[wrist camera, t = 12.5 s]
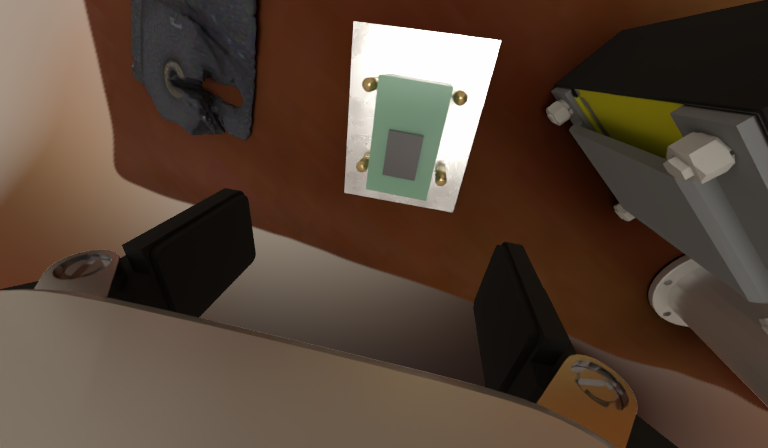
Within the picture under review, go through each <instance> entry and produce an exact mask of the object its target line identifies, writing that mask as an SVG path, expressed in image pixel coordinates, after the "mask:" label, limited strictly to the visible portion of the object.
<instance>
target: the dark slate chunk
mask: <svg viewBox="0 0 768 448" xmlns="http://www.w3.org/2000/svg"><path fill="white" fill-rule="evenodd" d="M131 5H132V20H131V28H132V35H133V37H132V53H133V55H132V58H133V65H132V69H133V76H134V77H135V78H136V79H137V80H138V81H139V82H141V83H142V84H143V85H144V86H145V87H146V88H147V90H148V93H149V95H150V96H151V97H152V101H153V103H154V104H155V106H156V108H157V109H158V112H159V114H160V115H161V116H162V117H163V118H165V119H166V120H168V121H172V122H174V123H176V124H178V125H181V126H182V127H183V128H184V129H185V130H186V131H187V132H190V134H191V135H202V134H215V133H216V134H224V130H227V132H228V133H229V134H230V135H232V136H233V135H234V136H236V137H237V138H242V139H243V140H246V139H247V138H248V137H249V136H250V134H251V133H250V129H251V122H252V118H251V112H252V104H253V96H254V89H255V83H254V79H255V77H256V75H255V65H256V62H255V54H256V52H255V38H256V29H257V26H256V18H255V14H256V11H257V5H256V0H132V1H131ZM206 77H211V78H212V80H213V81H215V82H218V83H222V84H225V85H230V86H235V87H237V89H238V90H239V92H240V94H241V95H242V97H243V101H244V103H243V104H242V106H241V107H235V106H233V105H232V104H228V103H226V102H225V101H224V100H223V99H222V98H220V97H218V96H216V97H213V95H212V94H210V93H209V92H208V91H205V90H204V89H202V87H201V85H200V84H202V81H205V79H206ZM222 127H224V128H222Z"/></svg>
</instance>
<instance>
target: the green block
mask: <svg viewBox="0 0 768 448" xmlns="http://www.w3.org/2000/svg"><path fill="white" fill-rule="evenodd" d="M453 88H454V87H453V86H452V85H451V84H450V83H446V82H440V81H434V80H428V79H422V78H416V77H410V76H404V75H398V74H392V73H390V74H379V78H378V87H377V95H376V104H375V113H374V122H373V130H372V139H371V148H370V156H369V165H368V174H367V182H366V189H368V190H373V191H378V192H383V193H388V194H393V195H398V196H403V197H408V198H413V199H418V200H423V201H426V199H427V195H428V191H429V187H430V183H431V179H432V175H433V170H434V166H435V162H436V158H437V154H438V150H439V146H440V141H441V137H442V133H443V129H444V125H445V121H446V117H447V112H448V108H449V104H450V100H451V96H452V92H453Z"/></svg>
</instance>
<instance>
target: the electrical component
mask: <svg viewBox="0 0 768 448" xmlns="http://www.w3.org/2000/svg"><path fill="white" fill-rule="evenodd" d="M555 86H556V88H554V89H553V90H552V91H551V93H552V94H553V95H554V97H555V98H556V100H557V101H556V102H554V103H553V104H552V105H550V106H549V107H548V108H547V109H546V113H547V116H548V118H549V119H550V120H551V122H553V123H554V124H557V125H559V126H560V125H562V124H563V123H564V122H566V121H567V120H569V119H570V120H571V122H572V123H573V125H572V126H571V128H570V129H569V131H570V133H571V134H572V135H573V137H574V138H575V140H576V141H577V143H578V144H579V146H580V147H581V148H582V150H583V151H584V153H585V154H586V156H587V157H588V158H589V160H590V161H591V163H592V164H593V166H594V167H595V168H596V170H597V171H598V173H599V174H600V176H601V177H602V179H603V180H604V181H605V183H606V184H607V186H608V187H609V189H610V190H611V191H612V193H613V194H614V196H615V197H616V199H617V200H618V201H619V203H618V204H616V205H615V206H614V209H615V212H616V214H617V215H618V216H619V217H620V218H621V219H624V220H625V221H630V220H632V219H634V218H637V219H638V220H640V221H641V222H642V223H644V224H645V225H646V226H648V227H649V228H650V229H652V230H653V231H654V232H656V233H657V234H658V235H660V236H661V237H662V238H664V239H665V240H667V241H668V242H669V243H671V244H672V245H673V246H675V247H676V248H677V249H679V250H680V251H681V252H683V253H684V254H685V255H687V256H688V257H689V258H691V259H692V260H694V261H695V262H696V263H698V264H699V265H700V266H702V267H703V268H704V269H706V270H707V271H708V272H710V273H711V274H712V275H714V276H715V277H716V278H718V279H719V280H720V281H722V282H723V283H725V284H726V285H727V286H729V287H730V288H731V289H733V290H734V291H735V292H737V293H738V294H739V295H741V296H742V297H743V298H745V299H746V300H747V301H749V302H755V303H765V304H766V303H768V0H763V1H759V2H754V3H749V4H745V5H740V6H735V7H730V8H726V9H721V10H716V11H712V12H707V13H702V14H698V15H693V16H688V17H683V18H679V19H674V20H669V21H665V22H660V23H655V24H650V25H646V26H641V27H636V28H632V29H627V30H622V31H621V32H619V33H618V34H617V35H616V36H614V37H613V38H612V39H611V40H609V41H608V42H607V43H606V44H604V45H603V46H602V47H601V48H599V49H598V50H597V51H596V52H594V53H593V54H592V55H591V56H590V57H588V58H587V59H586V60H585V61H583V62H582V63H581V64H580V65H578V66H577V67H576V68H575V69H573V70H572V71H571V72H570V73H568V74H567V75H566V76H565V77H563V78H562V79H561V80H560V81H558V82H557V83H556V84H555ZM759 321H760V323H761V325H762V326H763V327H761V328H762V329H763V330H764V331H765V332H766V334H767V335H768V316H766V317H763V318H759Z"/></svg>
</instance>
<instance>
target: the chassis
mask: <svg viewBox="0 0 768 448" xmlns="http://www.w3.org/2000/svg"><path fill="white" fill-rule="evenodd" d="M500 44H501V40H494V39H486V38H479V37H471V36H463V35H456V34H448V33H440V32H433V31H425V30H417V29H410V28H402V27H394V26H387V25H379V24H371V23H363V22H356V21H353V40H352V59H351V77H350V96H349V115H348V134H347V152H346V171H345V190H344V193H349V194H355V195H360V196H365V197H371V198H376V199H382V200H387V201H393V202H398V203H404V204H409V205H415V206H420V207H426V208H431V209H437V210H442V211H448V212H453V211H454V207H455V204H456V200H457V197H458V193H459V189H460V186H461V182H462V179H463V175H464V172H465V168H466V165H467V161H468V158H469V154H470V150H471V147H472V143H473V140H474V136H475V133H476V129H477V126H478V122H479V118H480V115H481V111H482V108H483V104H484V101H485V97H486V94H487V90H488V87H489V83H490V79H491V76H492V72H493V69H494V65H495V62H496V58H497V55H498V51H499V48H500ZM390 73H392V74H398V75H404V76H410V77H416V78H422V79H428V80H434V81H440V82H446V83H450V84H451V85H452V86H453V87H454V88H453V92H452V96H451V100H450V104H449V108H448V112H447V117H446V121H445V125H444V129H443V133H442V137H441V141H440V146H439V150H438V154H437V158H436V162H435V166H434V170H433V175H432V179H431V183H430V187H429V191H428V195H427V199H426V201H423V200H418V199H413V198H408V197H403V196H398V195H393V194H388V193H383V192H378V191H373V190H368V189H366V182H367V174H368V165H369V156H370V148H371V139H372V130H373V122H374V113H375V104H376V95H377V87H378V78H379V74H390Z"/></svg>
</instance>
